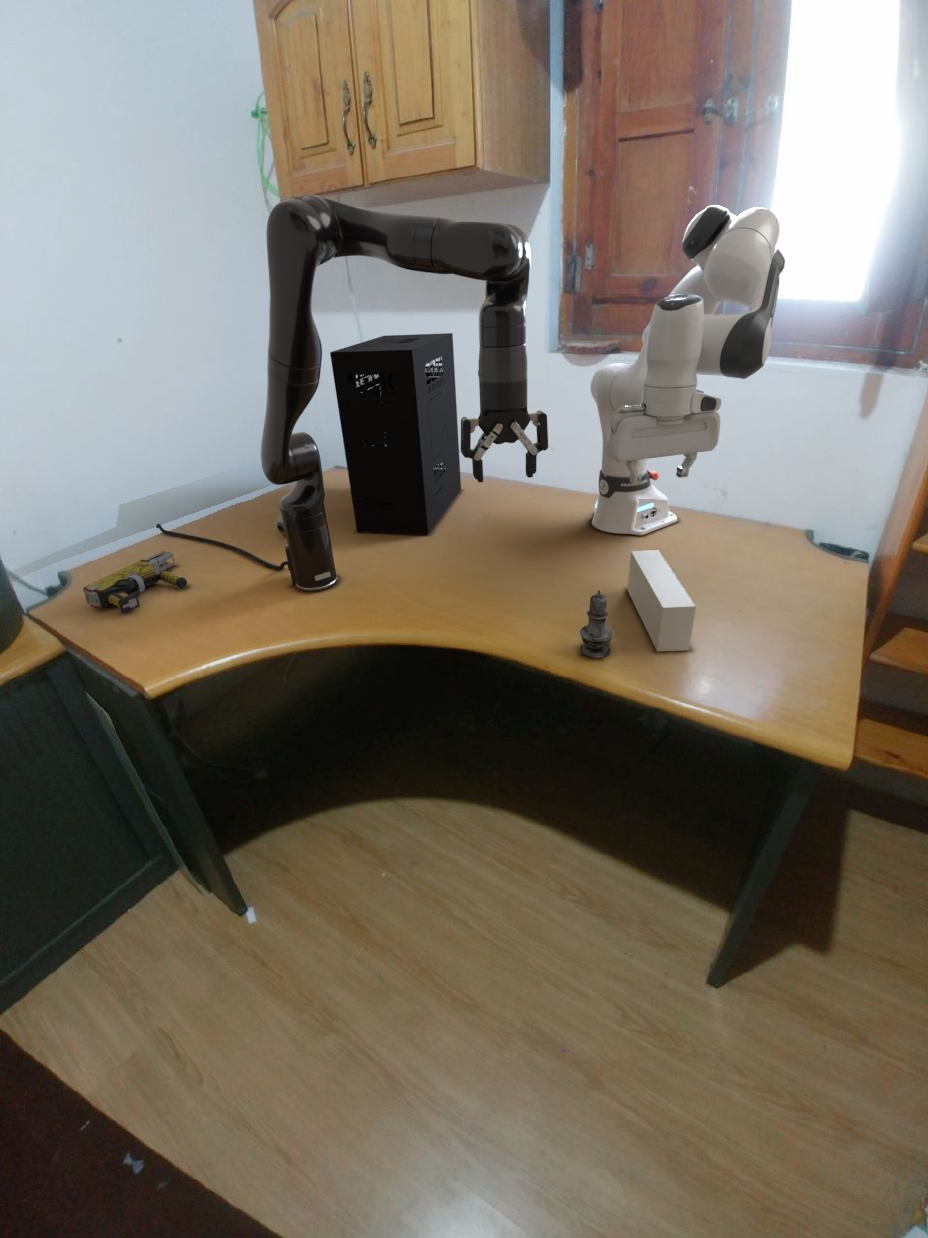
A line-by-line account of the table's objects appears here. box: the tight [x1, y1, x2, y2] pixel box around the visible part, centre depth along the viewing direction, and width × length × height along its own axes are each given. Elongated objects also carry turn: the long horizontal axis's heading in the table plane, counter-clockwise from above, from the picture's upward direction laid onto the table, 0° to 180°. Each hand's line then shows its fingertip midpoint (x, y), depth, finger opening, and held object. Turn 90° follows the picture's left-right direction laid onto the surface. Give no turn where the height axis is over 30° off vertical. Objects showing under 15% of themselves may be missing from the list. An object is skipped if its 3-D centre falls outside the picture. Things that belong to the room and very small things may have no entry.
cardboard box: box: [329, 332, 462, 536], centre depth 166 cm, size 38×20×45 cm, turn 167°
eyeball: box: [275, 513, 286, 535], centre depth 163 cm, size 6×6×6 cm
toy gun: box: [82, 550, 188, 615], centre depth 138 cm, size 5×24×15 cm
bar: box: [626, 549, 697, 652], centre depth 115 cm, size 24×6×9 cm, turn 179°
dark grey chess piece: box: [579, 589, 614, 659], centre depth 105 cm, size 6×6×12 cm
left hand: (504, 478), depth 102 cm, fingers open, 8 cm apart
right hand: (658, 479), depth 111 cm, fingers open, 8 cm apart
